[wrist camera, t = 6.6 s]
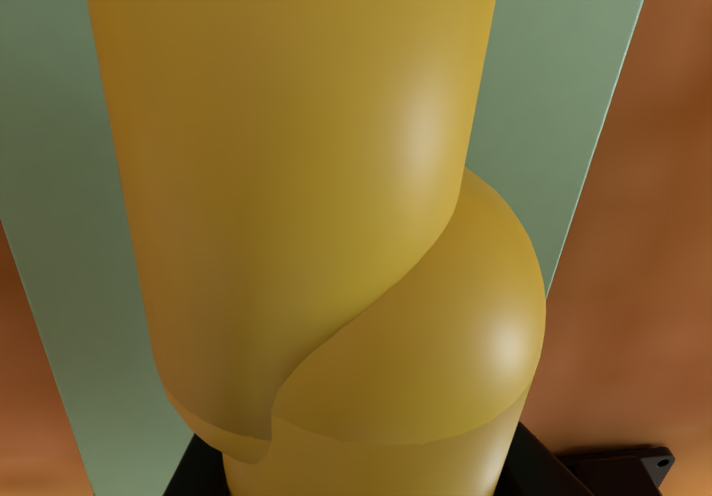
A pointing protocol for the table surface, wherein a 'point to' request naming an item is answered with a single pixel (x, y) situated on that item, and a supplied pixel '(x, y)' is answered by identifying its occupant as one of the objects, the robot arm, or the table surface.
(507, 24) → the green block
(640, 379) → the table surface
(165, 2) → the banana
